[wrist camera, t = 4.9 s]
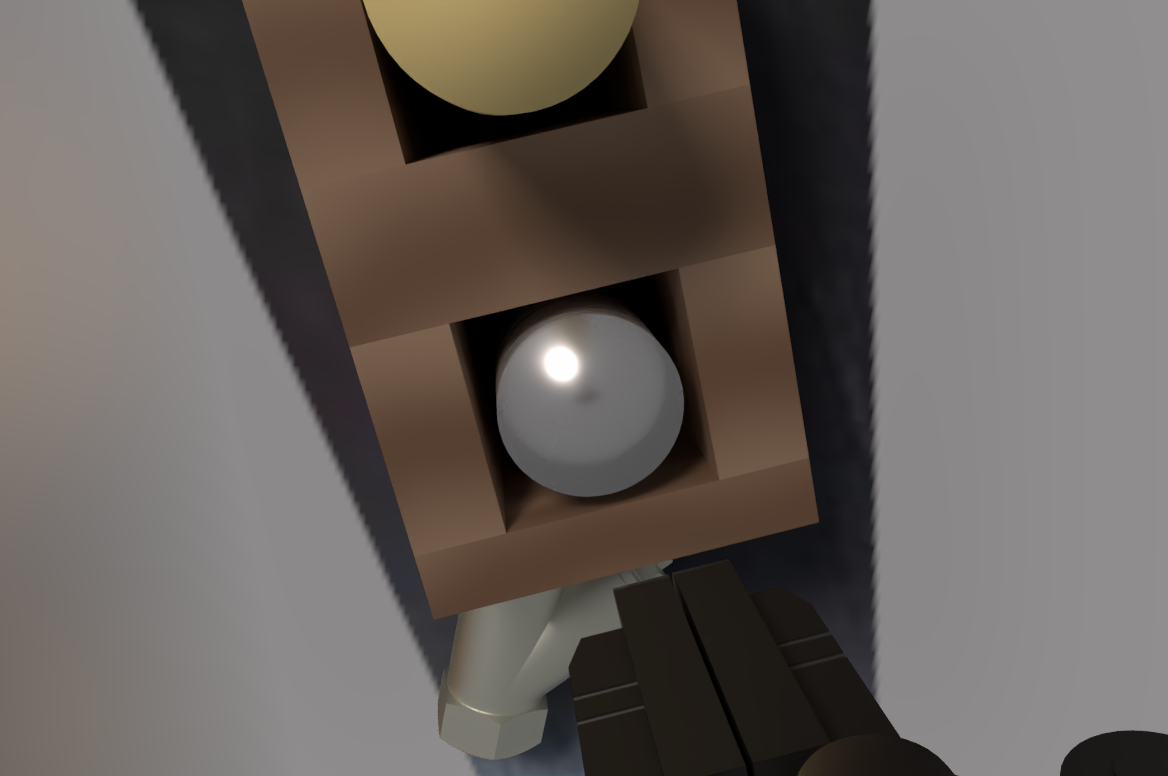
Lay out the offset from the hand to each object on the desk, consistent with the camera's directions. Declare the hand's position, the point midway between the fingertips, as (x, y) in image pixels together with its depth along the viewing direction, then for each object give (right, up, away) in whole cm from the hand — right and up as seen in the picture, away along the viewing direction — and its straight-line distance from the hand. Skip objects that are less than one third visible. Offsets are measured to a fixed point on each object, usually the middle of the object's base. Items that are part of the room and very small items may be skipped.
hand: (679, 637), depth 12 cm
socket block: (-3, +9, +17) cm, 19 cm away
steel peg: (-2, +5, +18) cm, 19 cm away
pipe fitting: (-2, -4, +21) cm, 22 cm away
